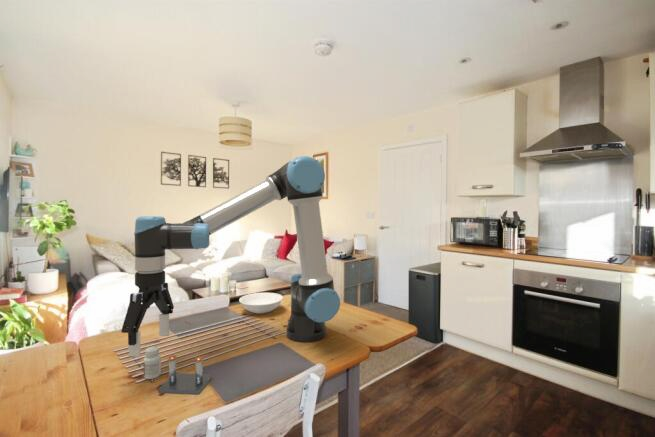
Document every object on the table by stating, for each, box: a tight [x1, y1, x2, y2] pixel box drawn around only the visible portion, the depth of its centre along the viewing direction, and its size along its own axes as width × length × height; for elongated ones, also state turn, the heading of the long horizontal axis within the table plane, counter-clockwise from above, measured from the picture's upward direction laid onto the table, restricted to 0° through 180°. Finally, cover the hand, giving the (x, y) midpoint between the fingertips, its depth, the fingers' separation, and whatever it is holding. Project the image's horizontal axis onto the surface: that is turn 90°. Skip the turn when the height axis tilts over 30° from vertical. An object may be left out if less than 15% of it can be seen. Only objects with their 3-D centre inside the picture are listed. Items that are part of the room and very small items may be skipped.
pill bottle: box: [142, 346, 162, 380], centre depth 92 cm, size 4×4×8 cm
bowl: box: [238, 291, 284, 315], centre depth 148 cm, size 20×20×6 cm
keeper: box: [157, 354, 213, 395], centre depth 88 cm, size 11×8×8 cm
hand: (150, 345), depth 92 cm, fingers open, 13 cm apart
